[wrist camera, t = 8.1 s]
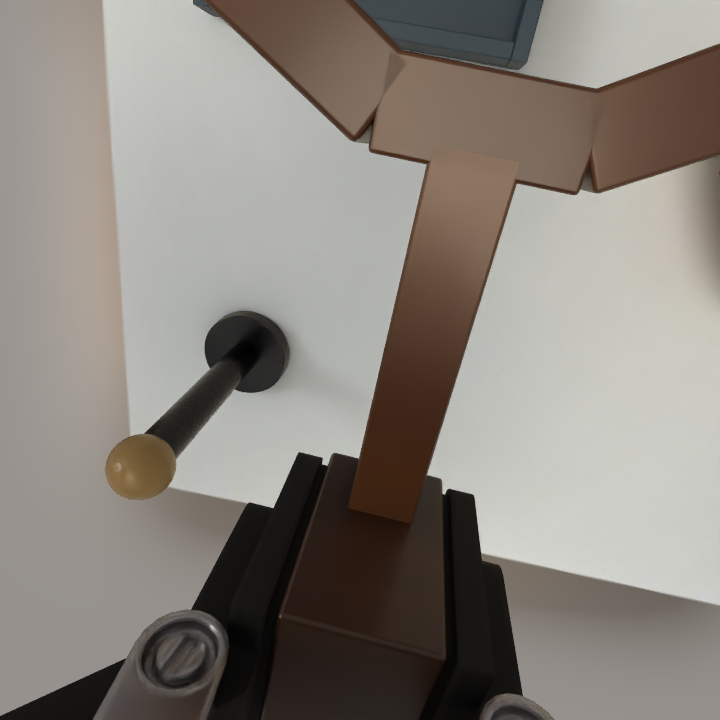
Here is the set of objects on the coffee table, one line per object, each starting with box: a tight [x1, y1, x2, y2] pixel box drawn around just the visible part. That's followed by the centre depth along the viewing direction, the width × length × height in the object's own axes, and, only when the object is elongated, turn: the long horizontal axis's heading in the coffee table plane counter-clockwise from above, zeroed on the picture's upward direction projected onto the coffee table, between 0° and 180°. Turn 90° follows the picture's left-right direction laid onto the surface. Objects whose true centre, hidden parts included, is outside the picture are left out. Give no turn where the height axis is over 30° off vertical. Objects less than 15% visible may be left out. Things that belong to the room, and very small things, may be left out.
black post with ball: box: [105, 311, 289, 500], centre depth 28 cm, size 6×6×16 cm
